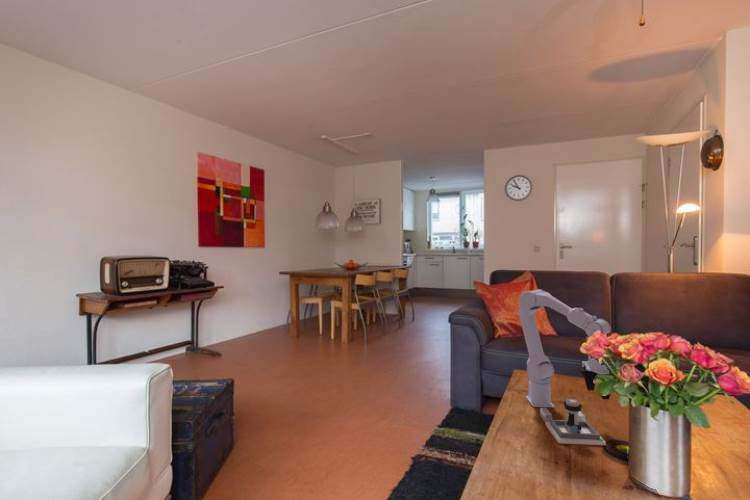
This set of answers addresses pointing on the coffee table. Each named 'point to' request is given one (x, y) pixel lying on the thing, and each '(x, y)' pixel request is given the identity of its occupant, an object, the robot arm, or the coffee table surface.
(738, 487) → the coffee table surface
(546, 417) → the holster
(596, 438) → the port dock
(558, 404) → the coffee table surface
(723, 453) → the coffee table surface
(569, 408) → the push button
